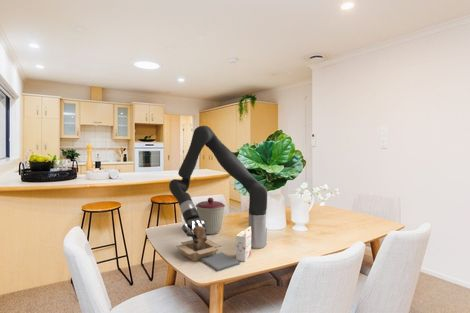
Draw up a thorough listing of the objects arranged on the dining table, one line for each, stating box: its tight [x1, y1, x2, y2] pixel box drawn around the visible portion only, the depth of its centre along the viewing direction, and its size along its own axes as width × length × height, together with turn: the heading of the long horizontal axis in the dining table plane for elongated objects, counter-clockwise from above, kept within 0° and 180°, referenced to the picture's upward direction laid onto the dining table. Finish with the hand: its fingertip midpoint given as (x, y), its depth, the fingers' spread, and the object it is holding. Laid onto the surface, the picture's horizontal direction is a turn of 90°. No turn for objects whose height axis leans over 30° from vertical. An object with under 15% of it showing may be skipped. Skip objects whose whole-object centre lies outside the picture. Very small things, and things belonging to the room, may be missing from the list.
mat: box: [199, 251, 241, 272], centre depth 124 cm, size 12×14×1 cm
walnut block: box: [193, 226, 205, 251], centre depth 133 cm, size 4×4×12 cm
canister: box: [194, 197, 226, 235], centre depth 167 cm, size 18×18×21 cm
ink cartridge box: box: [235, 226, 252, 263], centre depth 130 cm, size 9×5×15 cm, turn 158°
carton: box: [176, 238, 222, 262], centre depth 133 cm, size 18×18×4 cm
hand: (201, 241), depth 131 cm, fingers closed on walnut block, 4 cm apart
